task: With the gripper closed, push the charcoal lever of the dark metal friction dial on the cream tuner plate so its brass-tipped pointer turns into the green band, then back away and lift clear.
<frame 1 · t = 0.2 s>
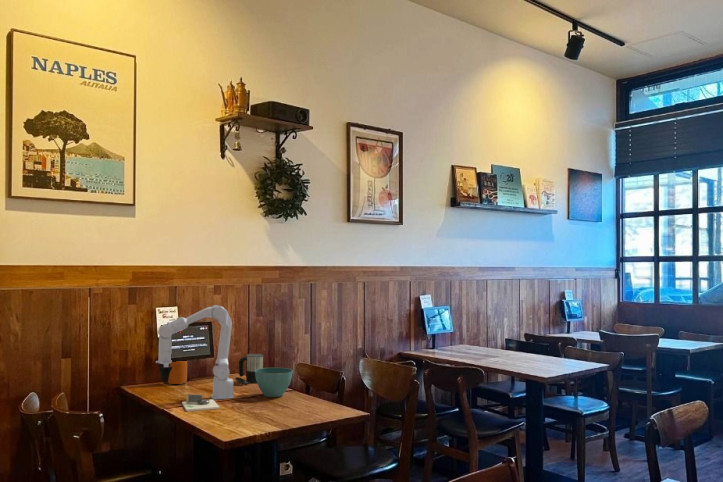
hand: (164, 380, 276), 10 cm above the table, fingers open, 7 cm apart
milk frother: (249, 383, 326), on the table
plant pot: (273, 396, 293), on the table
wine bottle: (177, 384, 322), on the table
tuner plate: (200, 406, 269), on the table
tuner dial: (197, 398, 270), point 3 cm above the table, hinge at 0.0°
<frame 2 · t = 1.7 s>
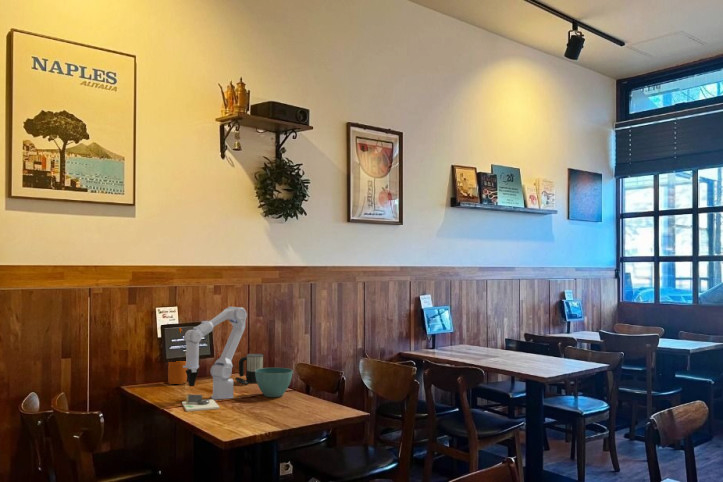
hand: (191, 385, 276), 8 cm above the table, fingers closed
nothing on the table moved.
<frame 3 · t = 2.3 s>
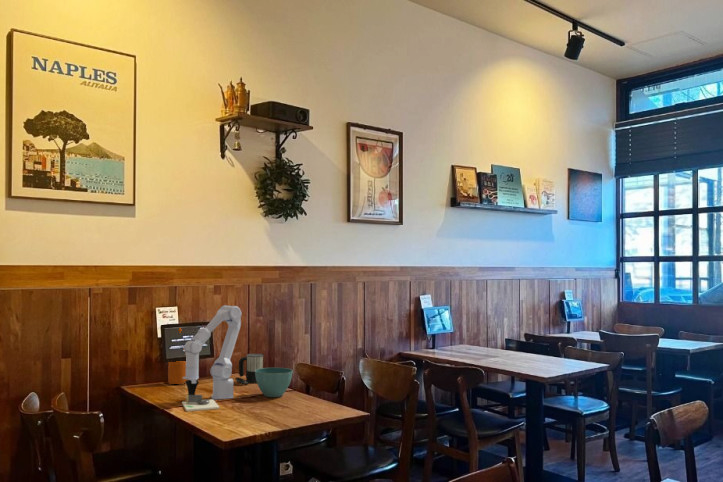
hand: (191, 396, 275), 3 cm above the table, fingers closed
nothing on the table moved.
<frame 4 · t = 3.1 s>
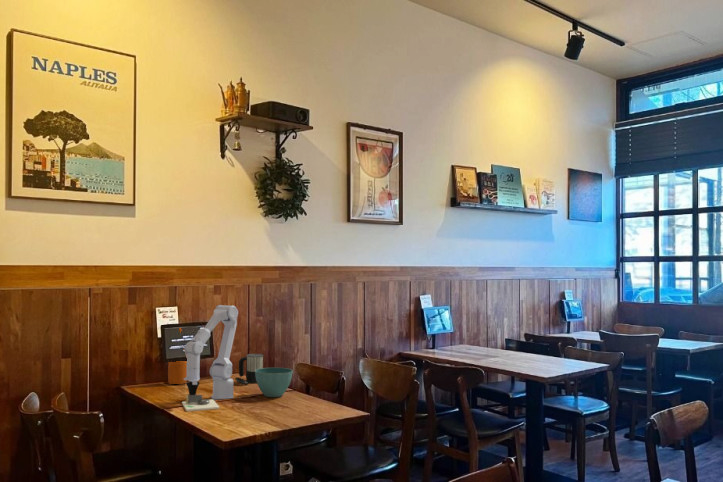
hand: (192, 398, 272), 3 cm above the table, fingers closed, pressing on tuner dial
tuner dial: (197, 398, 270), point 3 cm above the table, hinge at 0.7°, touching gripper
everything else where it was.
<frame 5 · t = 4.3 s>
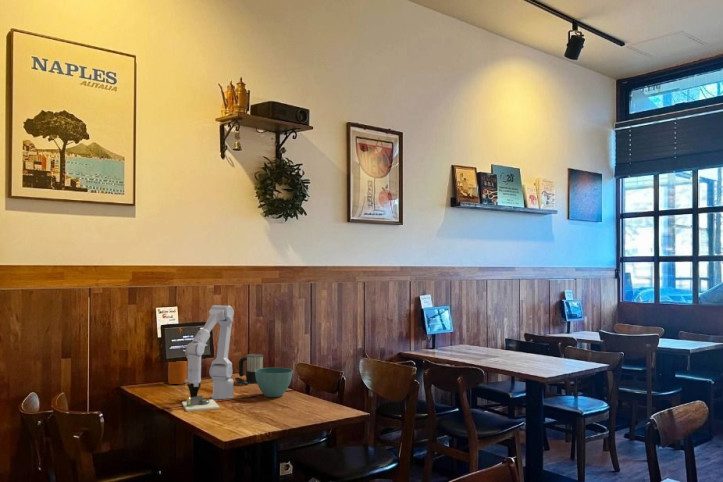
hand: (193, 400, 268), 3 cm above the table, fingers closed, pressing on tuner dial
tuner dial: (197, 399, 268), point 3 cm above the table, hinge at 52.5°, touching gripper
everything else where it was.
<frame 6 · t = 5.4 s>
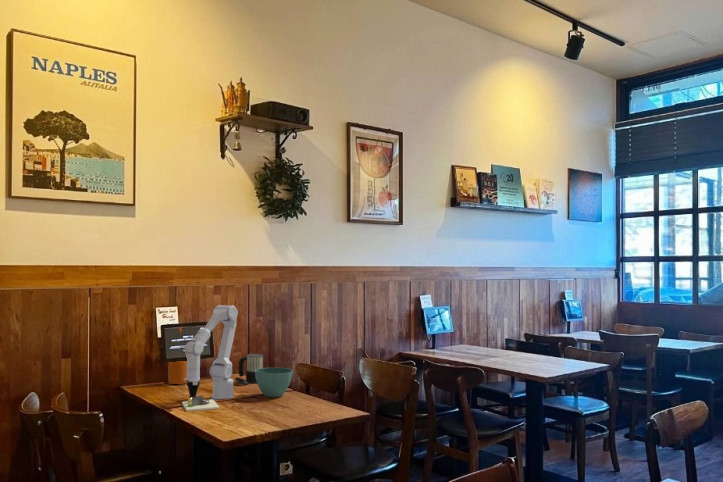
hand: (192, 398, 272), 3 cm above the table, fingers closed
tuner dial: (198, 400, 268), point 3 cm above the table, hinge at 59.6°
everything else where it was.
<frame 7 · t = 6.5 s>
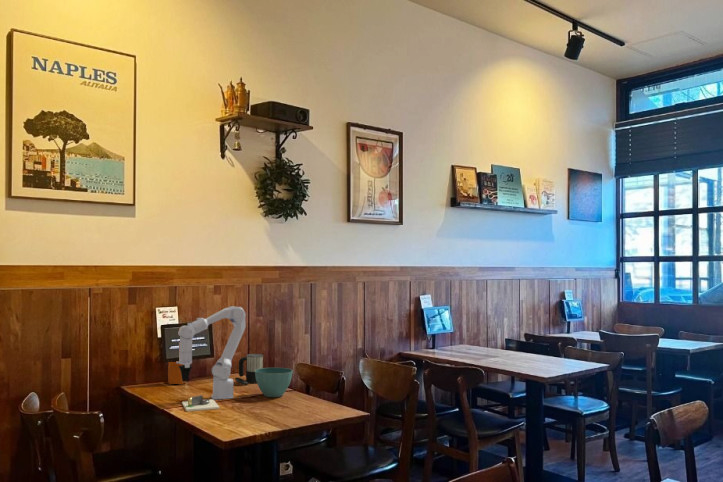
hand: (184, 381, 278), 9 cm above the table, fingers closed
nothing on the table moved.
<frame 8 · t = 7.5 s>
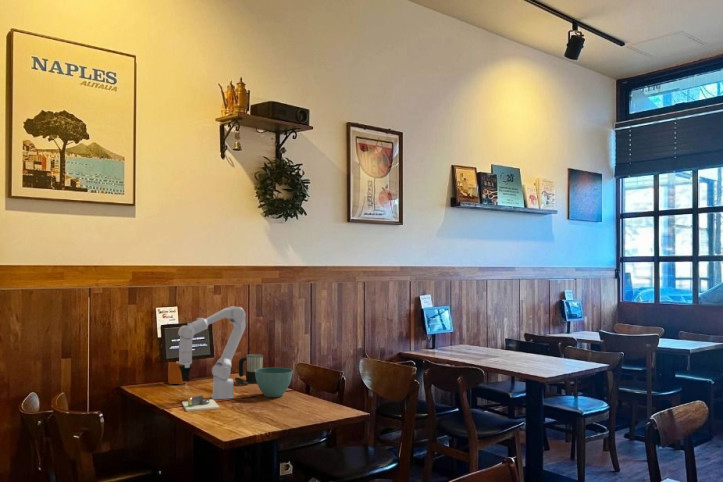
hand: (184, 381, 278), 9 cm above the table, fingers closed
nothing on the table moved.
at the end: tuner dial at +60° (first picture: +0°) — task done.
